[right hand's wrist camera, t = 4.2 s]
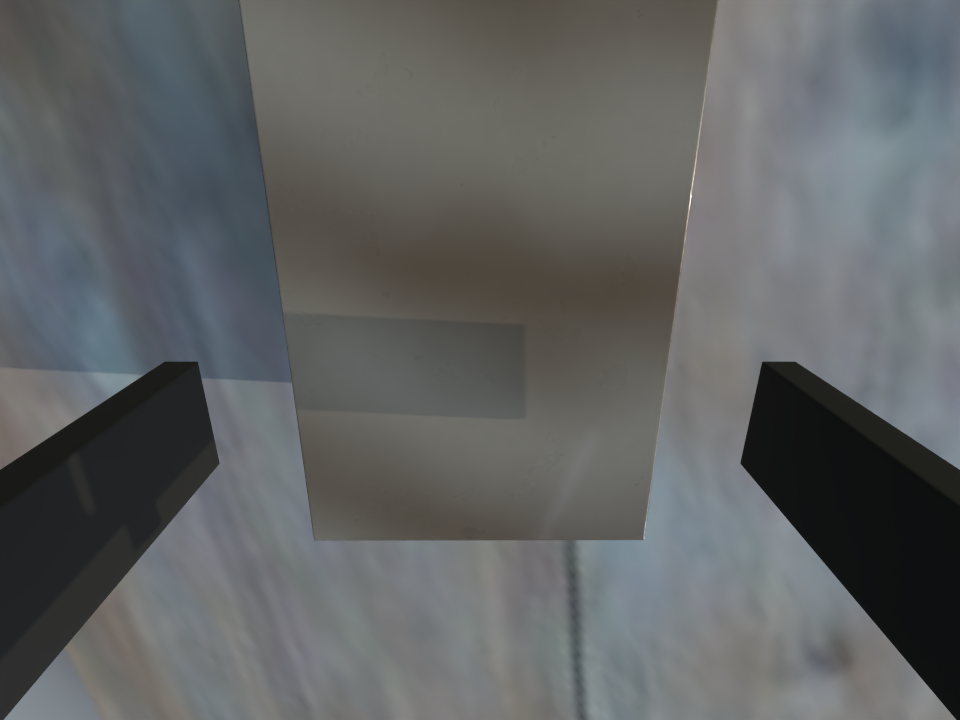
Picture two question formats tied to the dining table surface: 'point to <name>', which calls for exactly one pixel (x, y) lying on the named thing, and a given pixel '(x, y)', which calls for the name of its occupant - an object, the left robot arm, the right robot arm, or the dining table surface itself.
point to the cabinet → (478, 253)
